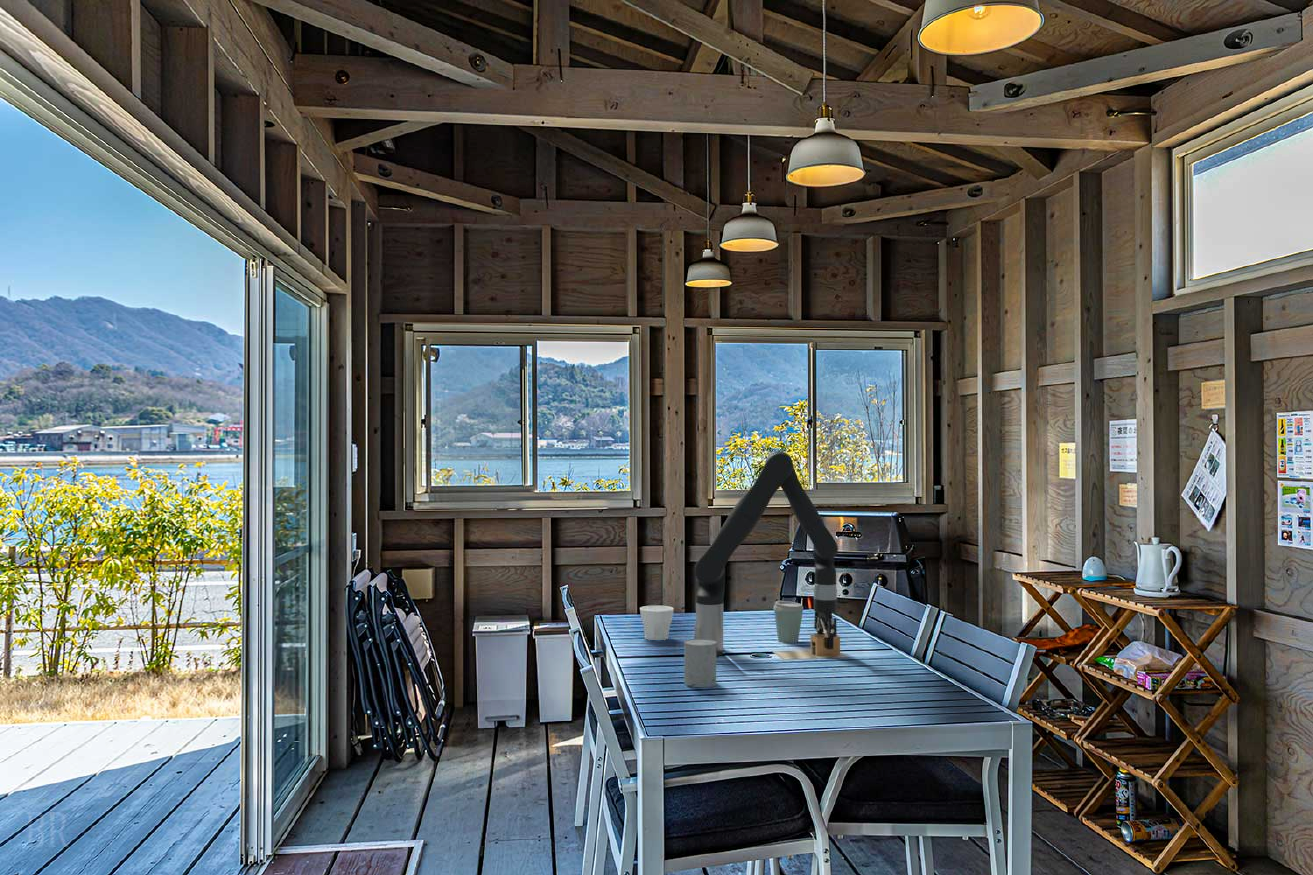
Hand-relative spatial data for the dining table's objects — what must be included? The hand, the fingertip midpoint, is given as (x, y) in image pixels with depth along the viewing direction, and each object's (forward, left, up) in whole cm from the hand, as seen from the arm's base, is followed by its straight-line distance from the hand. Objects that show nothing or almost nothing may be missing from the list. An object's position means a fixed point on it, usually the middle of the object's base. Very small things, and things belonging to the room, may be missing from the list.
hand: (825, 646), depth 312 cm
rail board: (-5, 0, -4) cm, 7 cm away
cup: (-49, +40, -4) cm, 64 cm away
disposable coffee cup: (-5, +22, -4) cm, 23 cm away
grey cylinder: (-48, -26, -4) cm, 55 cm away
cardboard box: (0, 0, -2) cm, 2 cm away
